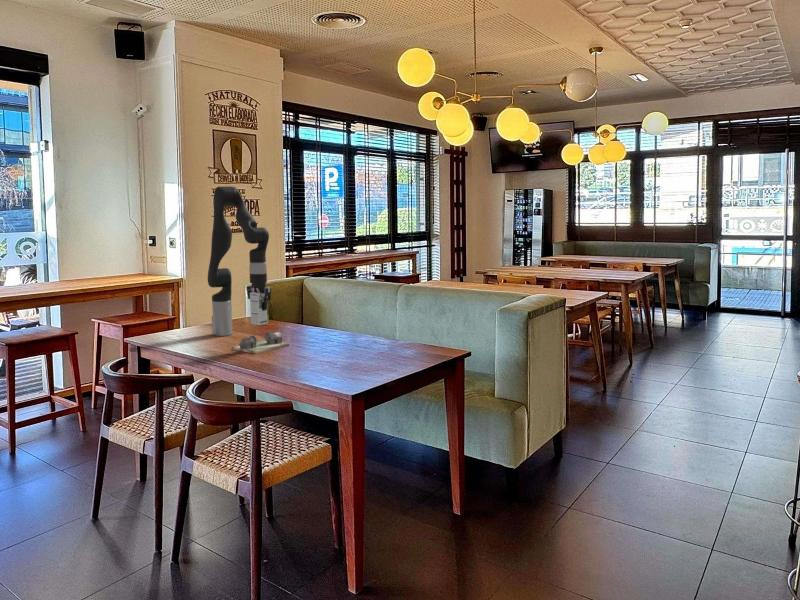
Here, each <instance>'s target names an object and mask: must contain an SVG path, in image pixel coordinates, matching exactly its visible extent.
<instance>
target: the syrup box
mask: <svg viewBox="0 0 800 600" xmlns="http://www.w3.org/2000/svg"><path fill="white" fill-rule="evenodd" d="M261 294H262V293H261ZM262 295H265V292H264V293H263V294H262ZM263 298H264V297H263ZM267 298H268V296H267ZM264 299H265V298H264ZM249 303H250V307H249V309H250V323H251V324H252V325H254V326H255V325H256V326H261V325H266V324H267V325H268V324H269V323H270V319H269V318H270V317H269V301H267V310H264V311H263V310H262V300H261V297H260V293H258V292H253V293H250V299H249Z"/></svg>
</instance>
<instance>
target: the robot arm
mask: <svg viewBox="0 0 800 600" xmlns="http://www.w3.org/2000/svg"><path fill="white" fill-rule="evenodd" d="M246 205H247V204H246V203H245V202H244V199H243V196H242V195H241V192H240V191H239V190H238V188H237V187H235V186H217V187H216V188H215V189H214V191H213V224H212V233H211V246H210V247H211V248H210V257H209V259H210V260H209V265H208V271H207V283H208V286H209V287H210V288H221V289H220V291H218V292H217V293H214V294H212V296H211V304H212V315H211V332H212V335H213V336H217V337H222V336H223V337H225V336H231V335H233V333H234V332H233V312H232V278H233V277H232V272H231V270H230V269H229V268H226V267H225V268H223V267H222V268H219V267H220V263H221V261H222V259H223V258H224V257H225V256H226V254H227V253H228V251H229V250H230V248H231V247H232V240H233V239H232V238H233V232H232V229H231V227H230V225H229V224H228V221H227V220H226V218H225V214H224V207H235V208H236V213H235V220H236V222H237V223H238V226H239V227H240V228H241V230H242V232H243V233H242V234H243V236H244V241H245V242H247V243H248V244H251V245H253V244H255V245H256V244H257V247H255V248H252V249H250V250H249V267H248V270H249V283H250V284H251V285H246V294H247V299H248V300H250V293H253V292H258V293H260V297H261V300H262V310H263V311H264V310H267V301H268V302H269V301H271V298H272V297H271V296H272V295H271V294H272V288H271V287H267V286H266V284H267V283H268V275H267V273H268V271H267V269H268V268H267V258H266V251H267V247H268V244H269V239H270V234H269V231H268V229H267V228H266V227H258V223H257V221H256V219H255V218H254V217H253V216H252V214H251V213H250V211H249V209H248V207H247V206H246ZM264 292H265V295H262V294H263V293H264ZM261 293H262V294H261ZM267 296H268V298H267ZM263 297H264V298H265V299H264V298H263Z"/></svg>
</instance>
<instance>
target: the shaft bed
mask: <svg viewBox="0 0 800 600" xmlns="http://www.w3.org/2000/svg"><path fill="white" fill-rule="evenodd" d="M286 347H290V342H289V343H288V342H283V337H282V334H281V332H280V331H277V332H272V333H271V332H266V333H264V339H261V340H257V337H256V336H255V335H251V336H249V337H244V338H241V339H240V341H239V344H238V345H233V346H231V350H233V351H239V352H244V353H249V354H254V355H258V354H262V353H266V352H270V351H273V350H278V349H283V348H286Z"/></svg>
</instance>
